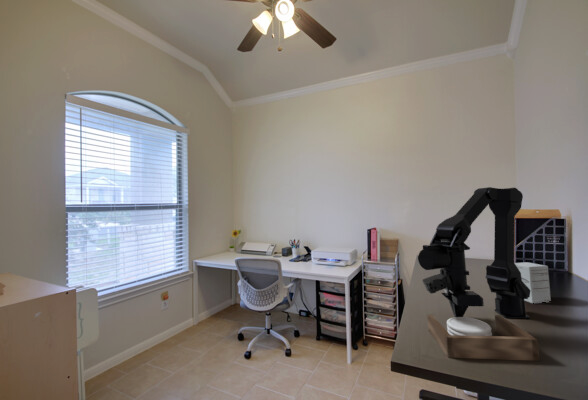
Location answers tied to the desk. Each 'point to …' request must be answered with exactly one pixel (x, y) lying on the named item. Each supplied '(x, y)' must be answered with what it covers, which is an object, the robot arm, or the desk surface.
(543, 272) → the supplement box
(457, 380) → the desk surface
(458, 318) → the coaster
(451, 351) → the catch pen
